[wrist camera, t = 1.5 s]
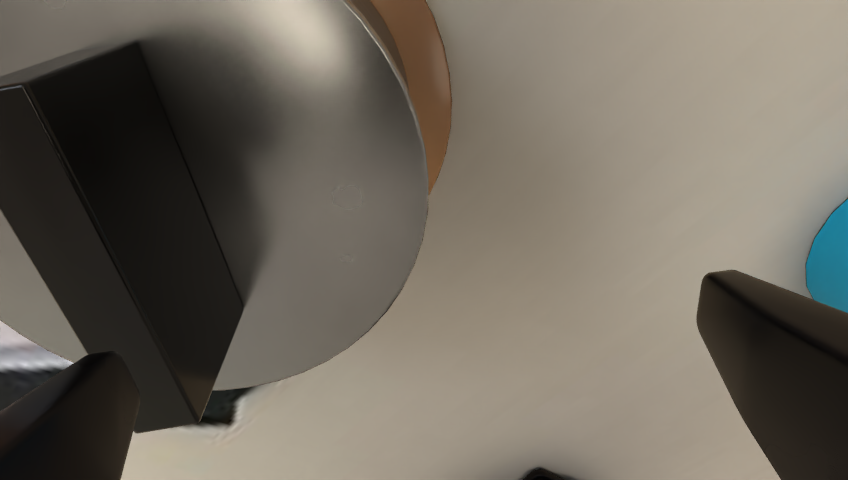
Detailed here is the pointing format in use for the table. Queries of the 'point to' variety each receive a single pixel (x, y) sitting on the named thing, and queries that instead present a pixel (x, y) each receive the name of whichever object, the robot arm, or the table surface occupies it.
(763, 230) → the table surface
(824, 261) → the mug
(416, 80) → the turntable
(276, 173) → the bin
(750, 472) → the table surface
